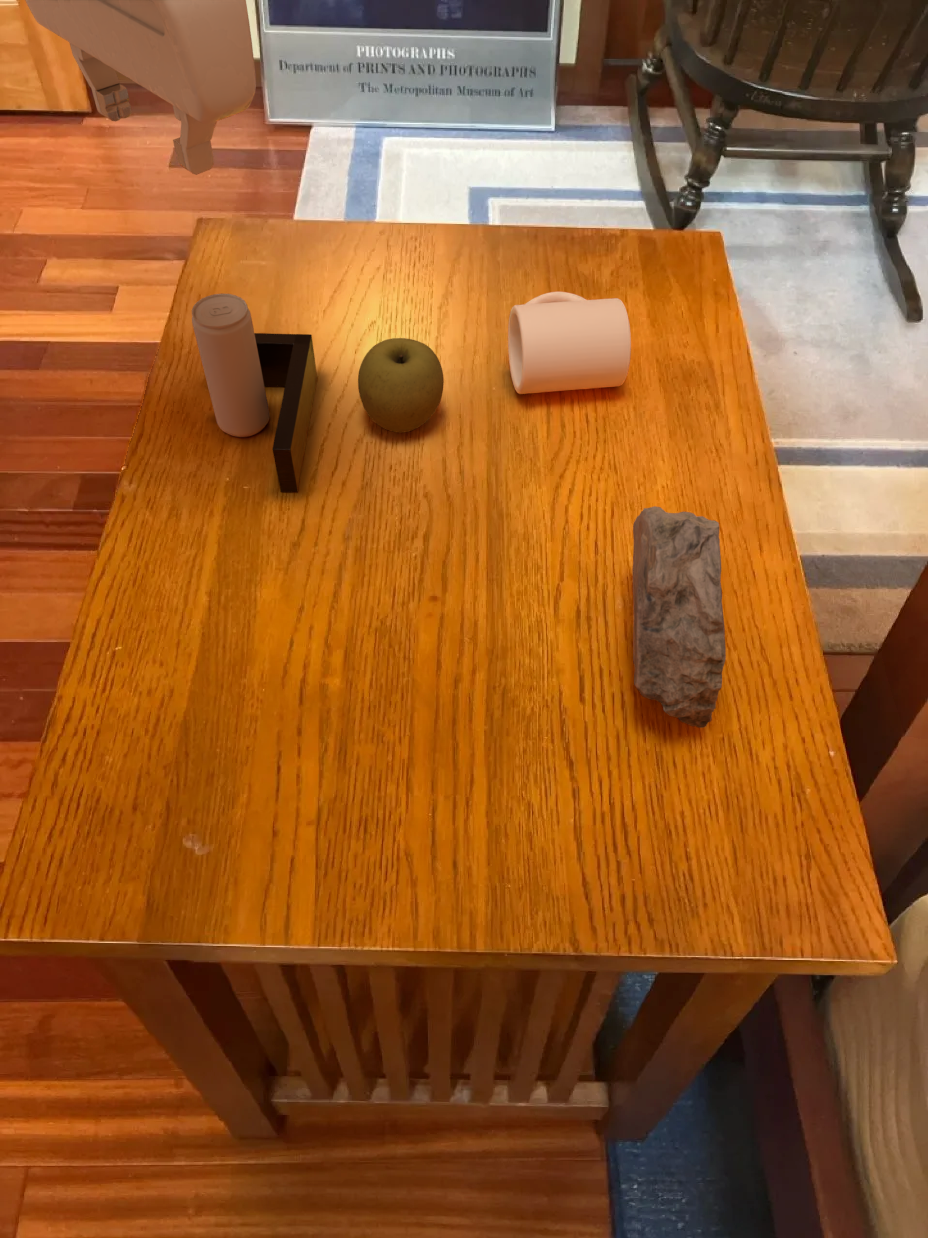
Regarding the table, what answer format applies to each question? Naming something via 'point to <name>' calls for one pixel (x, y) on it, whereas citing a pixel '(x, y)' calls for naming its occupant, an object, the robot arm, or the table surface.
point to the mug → (568, 343)
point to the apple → (400, 384)
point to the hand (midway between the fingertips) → (155, 140)
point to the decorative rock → (678, 613)
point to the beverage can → (231, 363)
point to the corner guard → (289, 398)
